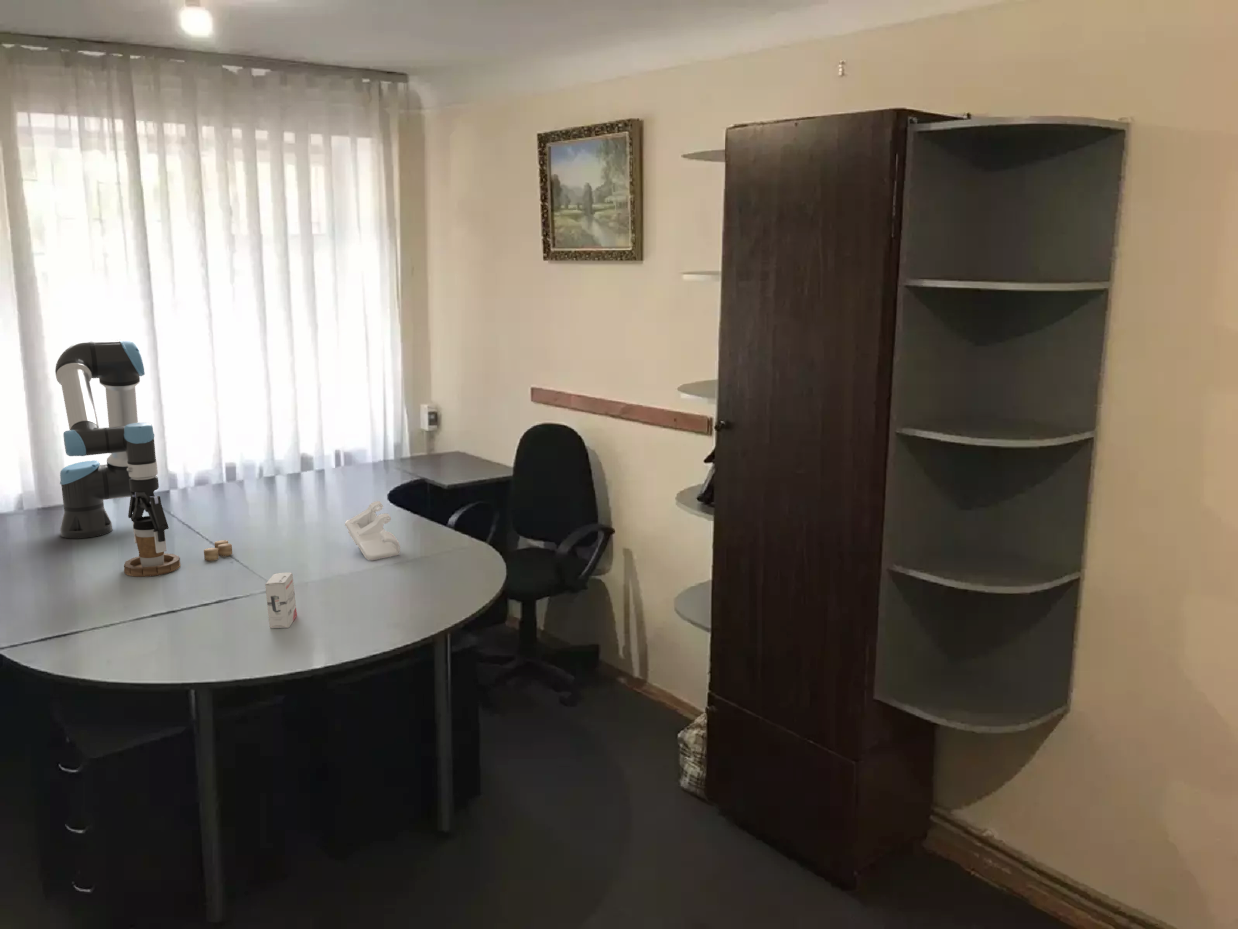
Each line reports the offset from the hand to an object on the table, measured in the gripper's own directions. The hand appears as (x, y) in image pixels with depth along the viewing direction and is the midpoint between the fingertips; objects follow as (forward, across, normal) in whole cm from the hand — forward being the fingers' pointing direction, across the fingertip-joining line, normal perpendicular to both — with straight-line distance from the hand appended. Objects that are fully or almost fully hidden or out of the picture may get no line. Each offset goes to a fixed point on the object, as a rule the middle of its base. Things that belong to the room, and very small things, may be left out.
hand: (150, 547), depth 282 cm
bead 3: (+7, +3, +21) cm, 22 cm away
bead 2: (+7, -1, +22) cm, 23 cm away
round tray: (+6, 0, 0) cm, 7 cm away
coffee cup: (+6, 0, 0) cm, 6 cm away
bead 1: (+7, +4, +16) cm, 18 cm away
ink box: (+6, +67, +2) cm, 68 cm away
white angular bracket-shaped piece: (+7, +36, +53) cm, 64 cm away
